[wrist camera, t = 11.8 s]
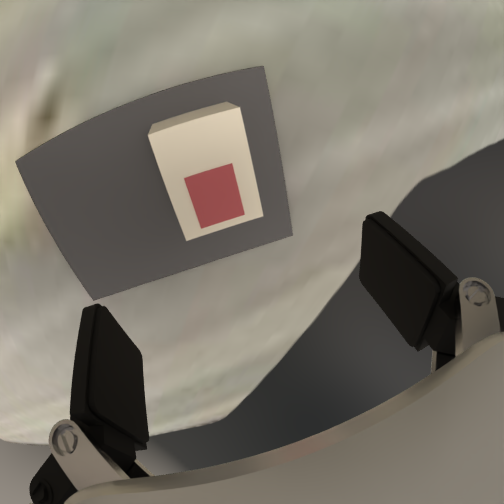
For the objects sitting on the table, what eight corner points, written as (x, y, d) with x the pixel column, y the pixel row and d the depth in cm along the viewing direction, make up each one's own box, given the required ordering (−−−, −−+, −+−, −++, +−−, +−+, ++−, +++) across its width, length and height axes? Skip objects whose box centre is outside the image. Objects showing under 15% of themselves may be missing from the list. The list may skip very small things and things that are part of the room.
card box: (152, 124, 21) (147, 135, 17) (226, 101, 22) (240, 107, 18) (182, 213, 27) (186, 241, 23) (248, 192, 27) (263, 216, 23)
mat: (94, 297, 30) (93, 300, 29) (17, 159, 19) (15, 161, 18) (290, 232, 32) (292, 235, 32) (261, 66, 21) (263, 66, 21)
